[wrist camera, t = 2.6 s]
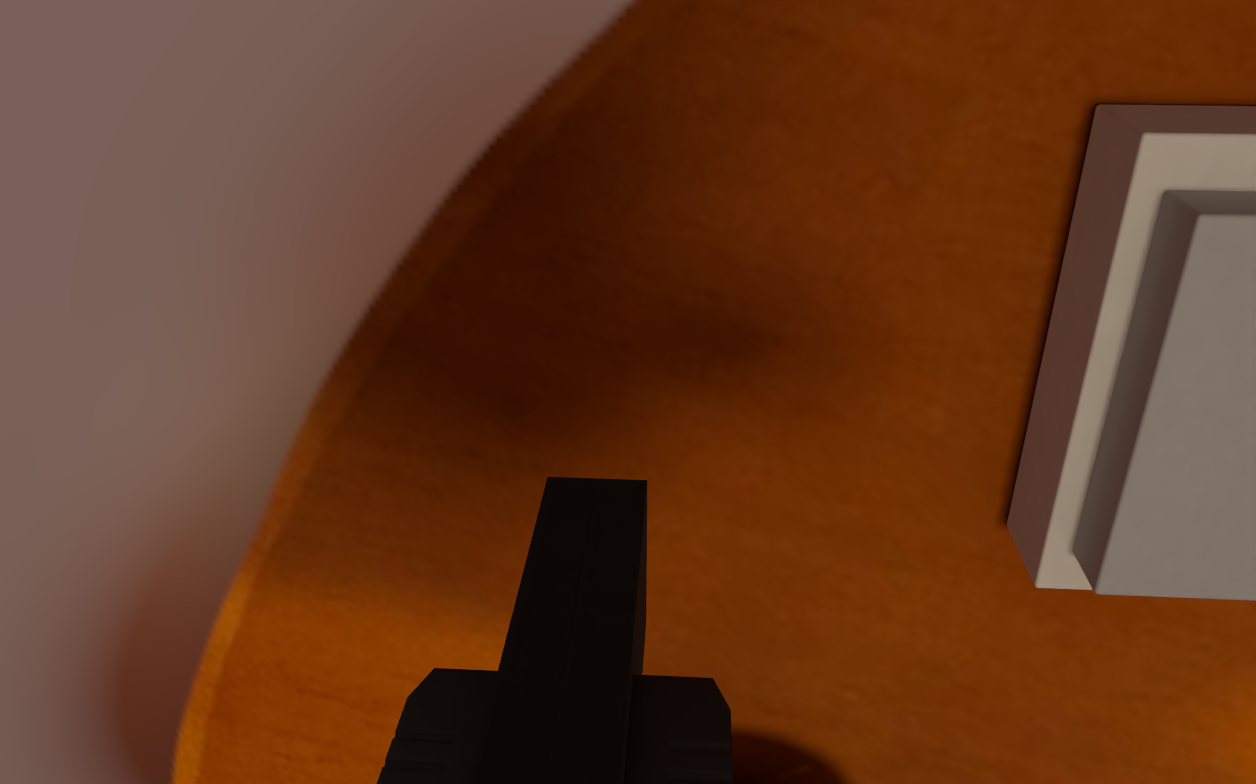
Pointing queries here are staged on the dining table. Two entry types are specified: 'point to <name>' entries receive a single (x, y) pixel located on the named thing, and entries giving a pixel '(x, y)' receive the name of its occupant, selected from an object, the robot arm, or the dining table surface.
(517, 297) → the dining table surface
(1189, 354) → the stepped grey block
